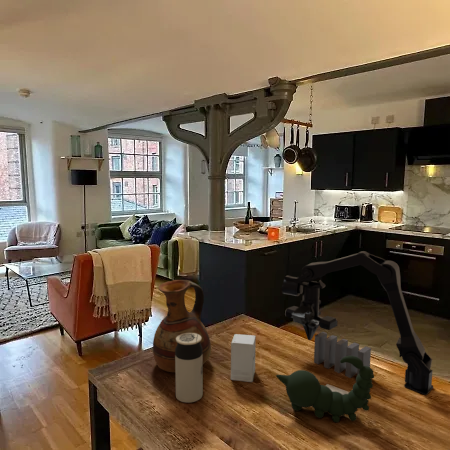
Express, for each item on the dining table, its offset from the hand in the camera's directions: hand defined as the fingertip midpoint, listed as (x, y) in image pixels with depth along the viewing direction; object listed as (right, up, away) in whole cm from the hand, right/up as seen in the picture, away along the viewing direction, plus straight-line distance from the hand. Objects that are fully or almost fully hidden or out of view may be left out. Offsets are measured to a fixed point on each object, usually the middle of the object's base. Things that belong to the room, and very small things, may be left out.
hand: (309, 339), depth 131 cm
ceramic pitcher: (-46, -7, -5) cm, 47 cm away
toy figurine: (-4, -10, -32) cm, 34 cm away
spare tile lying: (+3, -10, -24) cm, 26 cm away
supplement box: (-25, -8, -12) cm, 29 cm away
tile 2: (+6, -7, -6) cm, 11 cm away
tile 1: (+3, -7, -3) cm, 8 cm away
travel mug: (-42, -9, -24) cm, 49 cm away
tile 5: (+14, -8, -14) cm, 22 cm away
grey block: (+11, -8, -11) cm, 18 cm away
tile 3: (+8, -8, -8) cm, 14 cm away
